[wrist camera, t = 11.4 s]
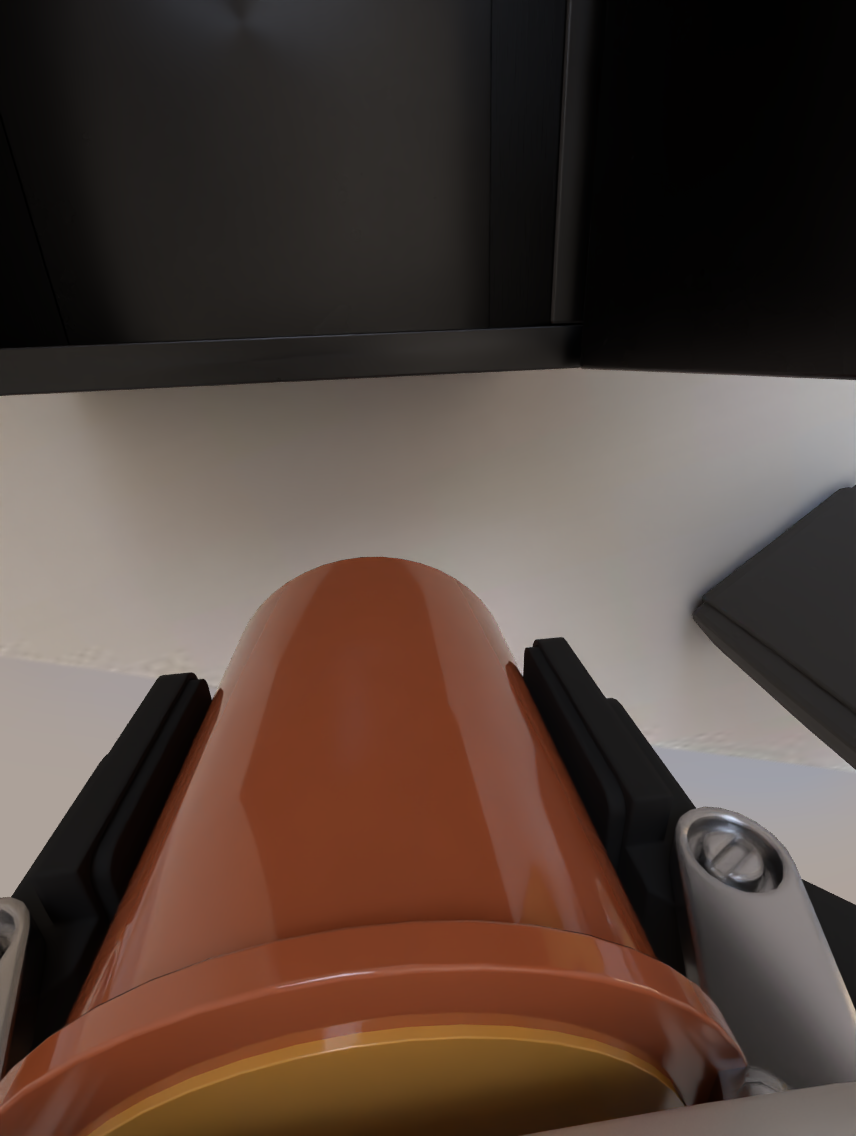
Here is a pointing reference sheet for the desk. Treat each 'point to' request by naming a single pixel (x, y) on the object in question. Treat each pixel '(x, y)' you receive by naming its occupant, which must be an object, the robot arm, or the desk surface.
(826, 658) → the card reader
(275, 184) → the black open box
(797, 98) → the black box lid
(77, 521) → the desk surface
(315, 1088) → the ramekin
